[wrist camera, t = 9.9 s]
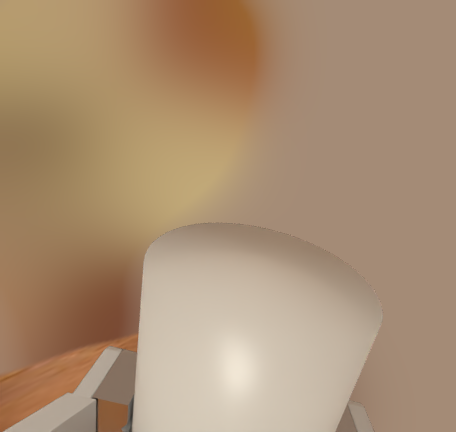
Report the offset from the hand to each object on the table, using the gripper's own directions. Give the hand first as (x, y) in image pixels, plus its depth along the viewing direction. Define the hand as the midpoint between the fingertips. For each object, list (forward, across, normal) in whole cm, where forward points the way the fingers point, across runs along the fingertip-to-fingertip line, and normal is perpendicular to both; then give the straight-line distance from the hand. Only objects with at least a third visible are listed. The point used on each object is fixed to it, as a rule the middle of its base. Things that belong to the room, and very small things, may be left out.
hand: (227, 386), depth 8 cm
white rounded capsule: (-1, 0, +6) cm, 6 cm away
